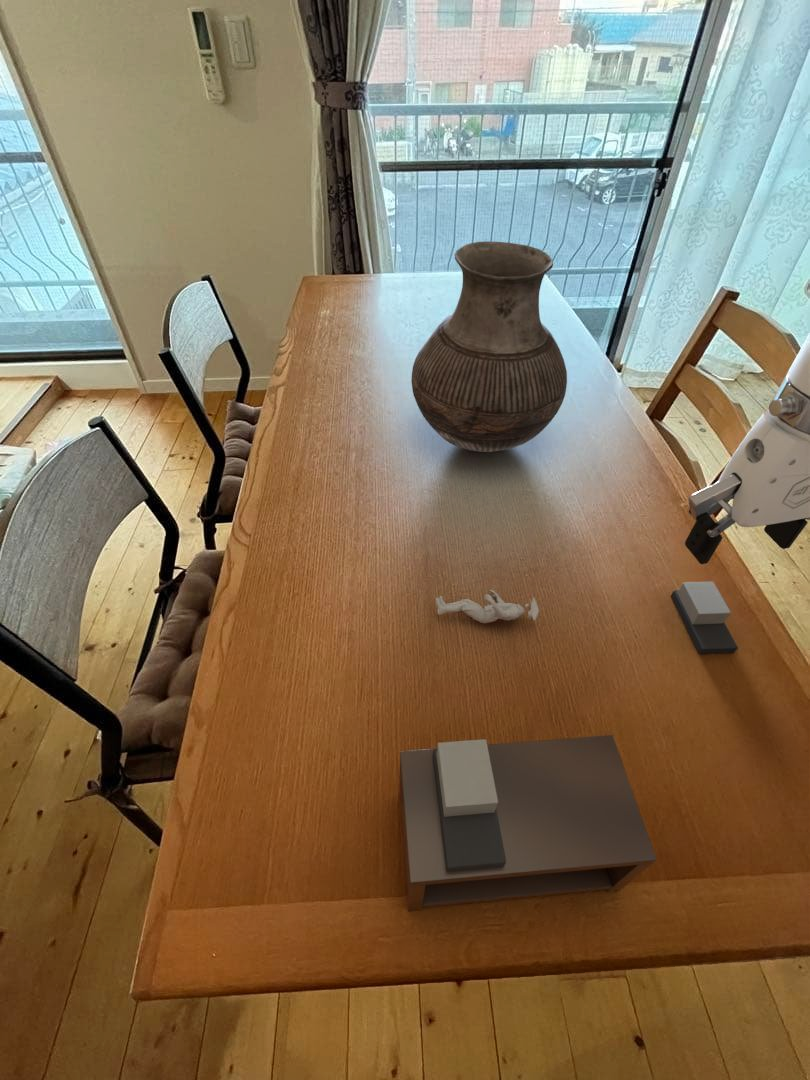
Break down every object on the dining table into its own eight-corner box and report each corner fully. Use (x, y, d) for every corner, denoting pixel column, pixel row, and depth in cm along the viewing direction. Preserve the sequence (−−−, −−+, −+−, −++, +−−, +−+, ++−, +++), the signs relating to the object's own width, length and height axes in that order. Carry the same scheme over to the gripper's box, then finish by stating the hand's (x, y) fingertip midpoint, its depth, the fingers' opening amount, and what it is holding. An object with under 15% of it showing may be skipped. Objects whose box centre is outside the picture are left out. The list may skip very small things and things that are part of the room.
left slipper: (504, 866, 42) (510, 853, 39) (446, 872, 42) (449, 859, 39) (482, 750, 48) (487, 732, 46) (432, 754, 48) (434, 736, 45)
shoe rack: (619, 891, 50) (657, 860, 42) (407, 911, 48) (410, 883, 41) (585, 777, 56) (612, 734, 49) (399, 793, 55) (399, 750, 48)
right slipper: (734, 653, 67) (747, 637, 64) (698, 654, 67) (710, 638, 64) (702, 594, 73) (713, 578, 71) (670, 595, 73) (679, 579, 71)
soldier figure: (442, 592, 74) (533, 577, 71) (449, 628, 74) (540, 614, 71) (431, 600, 67) (532, 582, 64) (439, 639, 66) (540, 624, 64)
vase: (435, 390, 108) (445, 219, 86) (562, 416, 102) (606, 239, 81) (389, 463, 92) (387, 275, 70) (536, 499, 86) (583, 306, 64)
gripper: (766, 445, 42) (683, 587, 55) (948, 418, 45) (831, 559, 58) (707, 394, 47) (643, 535, 60) (874, 372, 50) (781, 511, 63)
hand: (735, 546), depth 59 cm, fingers open, 9 cm apart
